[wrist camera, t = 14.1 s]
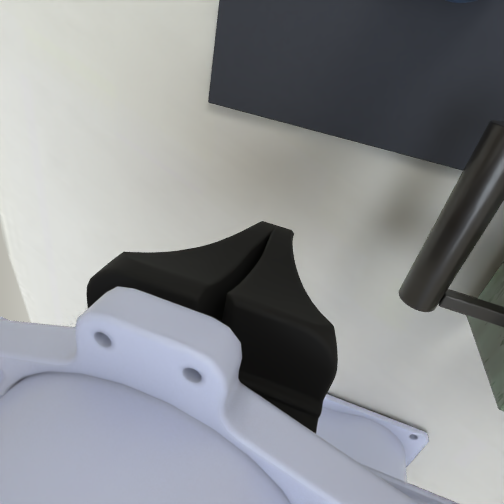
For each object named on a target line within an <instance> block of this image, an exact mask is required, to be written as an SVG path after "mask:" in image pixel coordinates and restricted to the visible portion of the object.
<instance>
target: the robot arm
mask: <svg viewBox="0 0 504 504" xmlns="http://www.w3.org/2000/svg"><path fill="white" fill-rule="evenodd" d="M293 236H294V233H293V231H292V230H289V229H286V228H283V227H280V226H276V225H273V224H270V223H267V222H264V221H261V222H259V223H257V224H255V225H253V226H251V227H249V228H248V229H246V230H244V231H242V232H240V233H237V234H235V235H233V236H231V237H228V238H226V239H223V240H221V241H218V242H215V243H212V244H209V245H205V246H201V247H197V248H191V249H185V250H180V251H171V252H156V253H142V252H123V253H121V254H120V255H119V256H117V257H116V258H115V259H113V260H112V261H111V262H110V263H108V264H107V265H106V266H105V267H104V268H102V269H101V270H100V271H99V272H97V273H96V274H95V275H94V276H93V277H92V278H91V279H90V281H89V283H88V285H87V304H88V309H87V310H86V311H85V312H84V313H83V314H82V315H80V316H79V317H78V319H77V323H76V327H67V326H58V325H48V324H38V323H28V322H19V321H10V320H8V319H5V318H3V317H0V504H458V503H456V502H454V501H451V500H449V499H446V498H444V497H441V496H439V495H436V494H434V493H432V492H429V491H427V490H424V489H422V488H419V487H417V486H414V485H412V484H409V483H407V475H406V467H407V466H408V465H409V464H410V463H411V462H412V460H413V459H414V458H415V457H416V456H417V455H418V453H419V452H420V451H421V450H422V449H423V448H424V446H425V445H426V444H427V443H428V441H429V437H428V434H427V433H426V432H424V431H422V430H419V429H417V428H414V427H411V426H409V425H406V424H404V423H401V422H398V421H396V420H393V419H391V418H388V417H385V416H383V415H380V414H378V413H375V412H372V411H370V410H367V409H365V408H362V407H359V406H357V405H354V404H352V403H349V402H346V401H344V400H341V399H339V398H336V397H333V396H331V395H328V394H327V392H328V390H329V388H330V386H331V384H332V382H333V380H334V378H335V375H336V371H337V363H338V358H337V343H336V336H335V330H334V326H333V325H332V324H331V323H330V322H329V321H328V320H327V319H326V318H325V317H324V316H323V315H322V314H321V313H320V311H319V310H318V309H317V308H316V306H315V305H314V304H313V302H312V301H311V299H310V298H309V296H308V295H307V293H306V291H305V289H304V287H303V285H302V283H301V280H300V278H299V275H298V272H297V268H296V265H295V260H294V254H293V245H292V240H293Z"/></svg>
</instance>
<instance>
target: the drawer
mask: <svg viewBox="0 0 504 504" xmlns="http://www.w3.org/2000/svg"><path fill="white" fill-rule="evenodd" d="M503 201H504V122H501V121H495V120H492V121H490V122H489V124H488V126H487V127H486V129H485V131H484V133H483V135H482V137H481V139H480V140H479V142H478V144H477V146H476V148H475V150H474V152H473V153H472V155H471V157H470V159H469V161H468V163H467V165H466V167H465V168H464V170H463V172H462V174H461V176H460V178H459V180H458V181H457V183H456V185H455V187H454V189H453V191H452V193H451V194H450V196H449V198H448V200H447V202H446V204H445V206H444V208H443V209H442V211H441V213H440V215H439V217H438V219H437V221H436V222H435V224H434V226H433V228H432V230H431V232H430V234H429V235H428V237H427V239H426V241H425V243H424V245H423V247H422V248H421V250H420V252H419V254H418V256H417V258H416V260H415V262H414V263H413V265H412V267H411V269H410V271H409V273H408V275H407V276H406V278H405V280H404V282H403V284H402V286H401V288H400V289H399V296H400V298H401V300H402V301H403V302H404V303H406V304H407V305H408V306H410V307H412V308H413V309H416V310H418V311H422V312H431V311H433V310H434V309H435V308H436V307H437V305H438V304H439V306H440V307H443V308H446V309H449V310H452V311H455V312H458V313H461V314H465V315H467V318H468V321H469V324H470V327H471V330H472V333H473V336H474V339H475V342H476V344H477V347H478V350H479V353H480V356H481V359H482V362H483V365H484V368H485V371H486V374H487V377H488V380H489V383H490V386H491V388H492V391H493V394H494V397H495V400H496V403H497V406H498V409H500V410H502V411H504V262H503V263H502V265H501V266H500V267H499V269H498V270H497V272H496V273H495V274H494V276H493V277H492V279H491V280H490V282H489V283H488V284H487V286H486V287H485V289H484V290H483V291H482V293H481V294H480V296H479V297H478V298H475V297H471V296H468V295H465V294H462V293H459V292H456V291H453V290H450V289H448V288H449V286H450V284H451V283H452V281H453V280H454V278H455V277H456V275H457V273H458V272H459V270H460V269H461V267H462V265H463V264H464V262H465V261H466V259H467V258H468V256H469V254H470V253H471V251H472V250H473V248H474V246H475V245H476V243H477V242H478V240H479V239H480V237H481V235H482V234H483V232H484V231H485V229H486V228H487V226H488V224H489V223H490V221H491V220H492V218H493V216H494V215H495V213H496V212H497V210H498V209H499V207H500V205H501V204H502V202H503Z"/></svg>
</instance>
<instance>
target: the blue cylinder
mask: <svg viewBox="0 0 504 504" xmlns="http://www.w3.org/2000/svg"><path fill="white" fill-rule="evenodd" d="M446 1H450V2H454V3H467V2H473V1H476V0H446Z"/></svg>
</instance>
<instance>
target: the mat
mask: <svg viewBox="0 0 504 504" xmlns="http://www.w3.org/2000/svg"><path fill="white" fill-rule="evenodd" d="M208 102H209V103H213V104H216V105H220V106H224V107H228V108H231V109H235V110H239V111H243V112H246V113H250V114H254V115H258V116H261V117H265V118H269V119H273V120H276V121H280V122H284V123H288V124H291V125H295V126H299V127H303V128H306V129H310V130H314V131H318V132H321V133H325V134H329V135H333V136H336V137H340V138H344V139H348V140H351V141H355V142H359V143H363V144H366V145H370V146H374V147H378V148H381V149H385V150H389V151H393V152H396V153H400V154H404V155H407V156H411V157H415V158H419V159H422V160H426V161H430V162H434V163H437V164H441V165H445V166H449V167H452V168H456V169H460V170H464V168H465V167H466V165H467V163H468V161H469V159H470V157H471V155H472V153H473V152H474V150H475V148H476V146H477V144H478V142H479V140H480V139H481V137H482V135H483V133H484V131H485V129H486V127H487V126H488V124H489V122H490V121H492V120H495V121H501V122H504V0H476V1H473V2H467V3H454V2H450V1H446V0H220V1H219V10H218V19H217V28H216V37H215V46H214V55H213V64H212V73H211V82H210V91H209V100H208Z"/></svg>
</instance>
